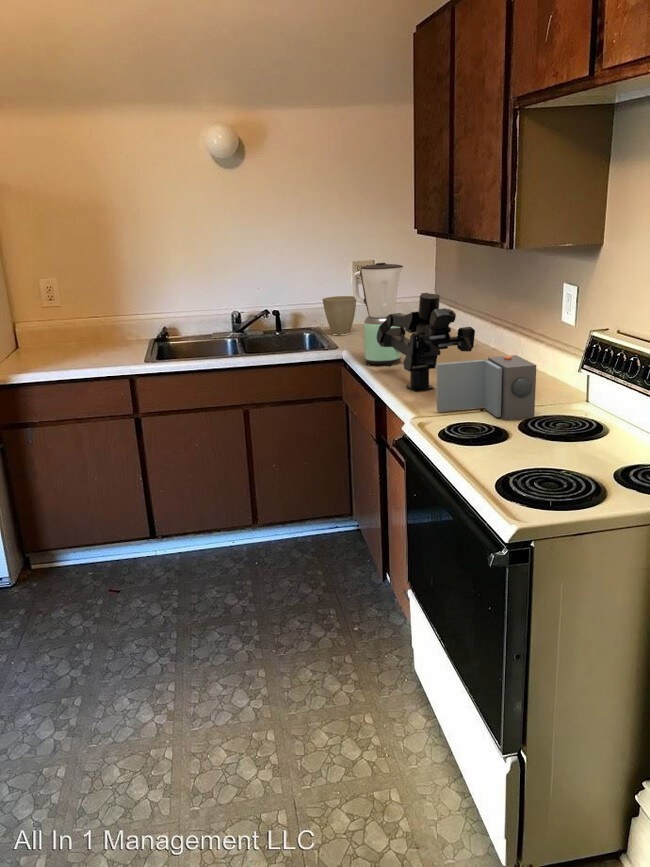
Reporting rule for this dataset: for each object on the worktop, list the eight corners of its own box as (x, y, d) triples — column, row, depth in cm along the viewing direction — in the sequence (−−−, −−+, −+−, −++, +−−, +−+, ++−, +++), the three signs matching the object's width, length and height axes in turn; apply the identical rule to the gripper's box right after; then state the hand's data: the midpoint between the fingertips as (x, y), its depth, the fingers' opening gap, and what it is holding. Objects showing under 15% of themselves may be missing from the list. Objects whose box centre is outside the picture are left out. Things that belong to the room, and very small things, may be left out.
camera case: (486, 407, 197) (487, 354, 193) (514, 404, 198) (516, 352, 194) (506, 421, 184) (508, 365, 179) (536, 419, 185) (538, 363, 180)
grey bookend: (436, 409, 196) (435, 363, 192) (485, 405, 198) (485, 358, 194) (449, 421, 185) (449, 372, 181) (500, 416, 187) (502, 368, 183)
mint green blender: (411, 360, 259) (410, 261, 248) (397, 368, 248) (395, 265, 237) (363, 357, 267) (360, 261, 256) (348, 365, 256) (344, 265, 245)
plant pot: (364, 333, 314) (363, 297, 309) (338, 338, 306) (336, 301, 301) (343, 330, 325) (342, 294, 320) (317, 334, 317) (315, 298, 312)
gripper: (402, 308, 200) (425, 326, 187) (463, 302, 205) (489, 319, 192) (401, 346, 205) (422, 365, 192) (460, 339, 210) (485, 358, 197)
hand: (455, 351), depth 193 cm, fingers open, 9 cm apart
